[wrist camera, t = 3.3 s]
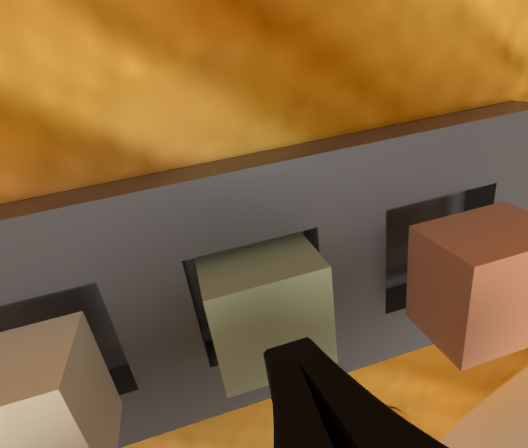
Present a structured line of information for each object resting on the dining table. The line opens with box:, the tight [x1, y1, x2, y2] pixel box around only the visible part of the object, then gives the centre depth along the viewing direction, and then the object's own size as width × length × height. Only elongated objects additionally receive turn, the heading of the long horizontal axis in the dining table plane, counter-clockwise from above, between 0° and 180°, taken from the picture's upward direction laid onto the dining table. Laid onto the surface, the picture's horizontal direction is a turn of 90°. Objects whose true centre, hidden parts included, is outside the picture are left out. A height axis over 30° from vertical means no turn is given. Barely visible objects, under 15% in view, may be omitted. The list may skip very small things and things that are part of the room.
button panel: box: [0, 101, 528, 448], centre depth 14 cm, size 10×24×2 cm, turn 98°
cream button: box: [0, 311, 123, 448], centre depth 10 cm, size 4×4×3 cm
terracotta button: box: [406, 201, 528, 371], centre depth 13 cm, size 4×4×3 cm
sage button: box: [194, 232, 338, 398], centre depth 13 cm, size 4×4×3 cm
